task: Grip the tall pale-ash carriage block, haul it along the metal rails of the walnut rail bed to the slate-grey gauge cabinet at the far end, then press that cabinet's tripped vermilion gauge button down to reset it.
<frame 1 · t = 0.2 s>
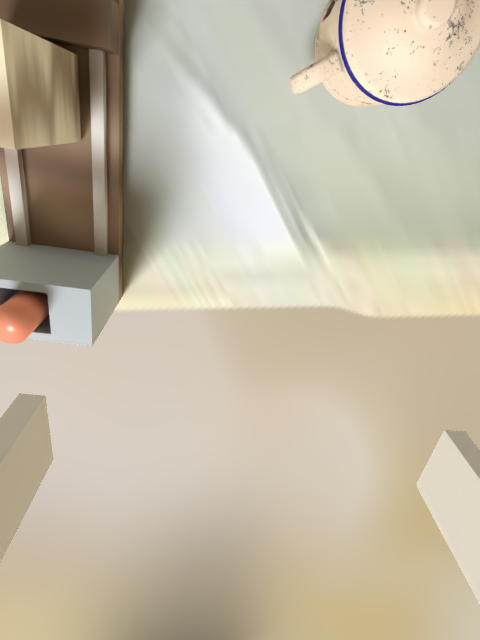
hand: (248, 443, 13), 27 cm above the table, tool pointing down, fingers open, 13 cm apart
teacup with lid: (349, 55, 31), on the table
rail bed: (65, 155, 33), on the table
carriage: (19, 90, 25), point 7 cm above the table, slide at 0.0 cm
gauge button: (21, 314, 29), point 10 cm above the table, slide at 0.0 cm
gauge cabinet: (71, 267, 38), resting on rail bed
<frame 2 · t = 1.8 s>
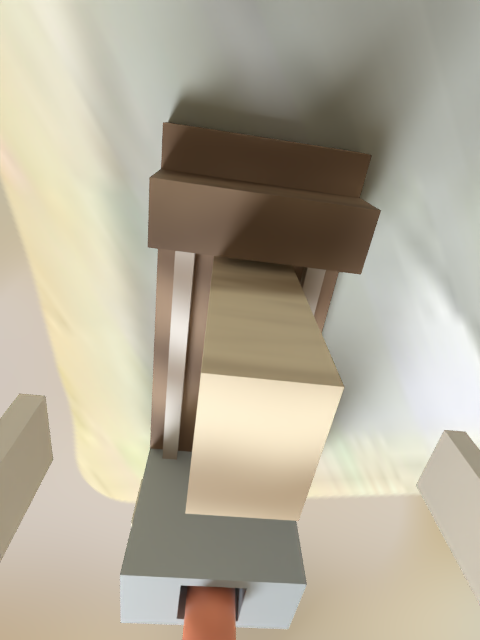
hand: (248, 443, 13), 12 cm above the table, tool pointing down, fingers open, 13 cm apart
rail bed: (233, 351, 25), on the table
carriage: (248, 357, 17), point 7 cm above the table, slide at 0.0 cm
gauge button: (210, 614, 21), point 10 cm above the table, slide at 0.0 cm
gauge cabinet: (216, 461, 30), resting on rail bed
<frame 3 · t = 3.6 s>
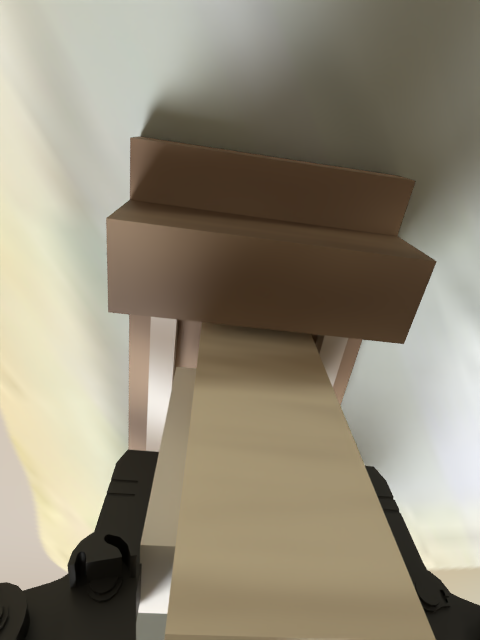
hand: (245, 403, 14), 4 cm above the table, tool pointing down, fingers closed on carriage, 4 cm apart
rail bed: (229, 417, 20), on the table
carriage: (250, 470, 12), point 7 cm above the table, slide at 0.0 cm, touching gripper
gauge cabinet: (209, 538, 25), resting on rail bed
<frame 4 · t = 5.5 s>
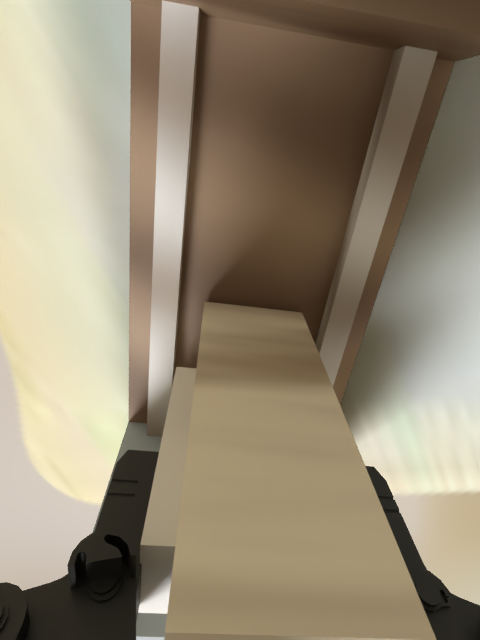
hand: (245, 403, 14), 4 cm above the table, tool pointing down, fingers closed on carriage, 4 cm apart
rail bed: (254, 267, 16), on the table
carriage: (250, 470, 12), point 7 cm above the table, slide at 8.6 cm, touching gripper
gauge cabinet: (225, 444, 21), resting on rail bed
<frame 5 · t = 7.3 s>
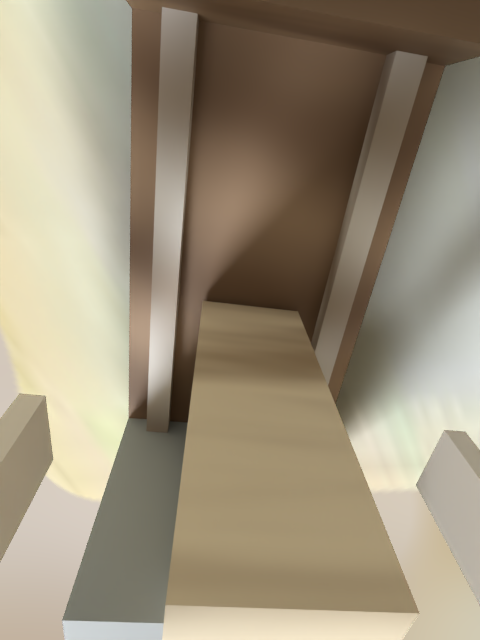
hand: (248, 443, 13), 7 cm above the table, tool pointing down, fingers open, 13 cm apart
rail bed: (252, 265, 17), on the table
carriage: (247, 463, 12), point 7 cm above the table, slide at 8.7 cm
gauge cabinet: (223, 440, 21), resting on rail bed
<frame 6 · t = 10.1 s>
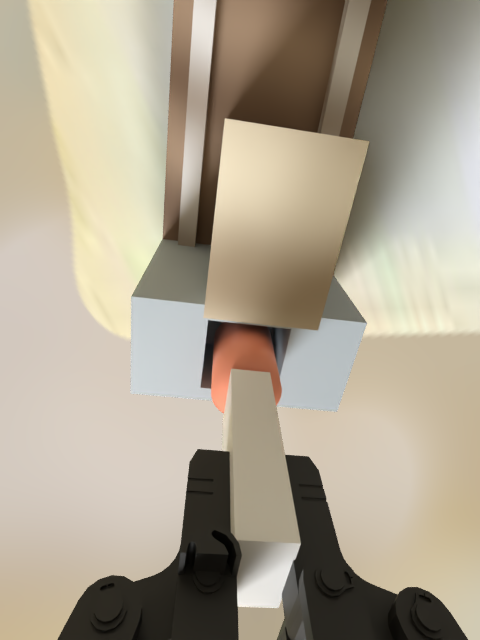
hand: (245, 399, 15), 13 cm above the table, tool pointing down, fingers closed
rail bed: (263, 103, 21), on the table
carriage: (262, 204, 16), point 7 cm above the table, slide at 8.7 cm
gauge button: (244, 363, 17), point 10 cm above the table, slide at 0.2 cm, touching gripper
gauge cabinet: (237, 278, 26), resting on rail bed
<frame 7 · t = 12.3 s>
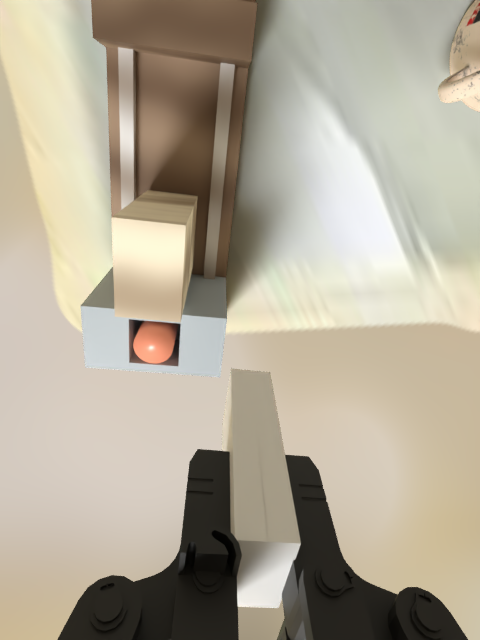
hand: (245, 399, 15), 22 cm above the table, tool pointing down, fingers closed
rail bed: (176, 175, 31), on the table
carriage: (162, 247, 27), point 7 cm above the table, slide at 8.7 cm
gauge button: (157, 333, 28), point 8 cm above the table, slide at 2.0 cm
gauge cabinet: (171, 291, 36), resting on rail bed
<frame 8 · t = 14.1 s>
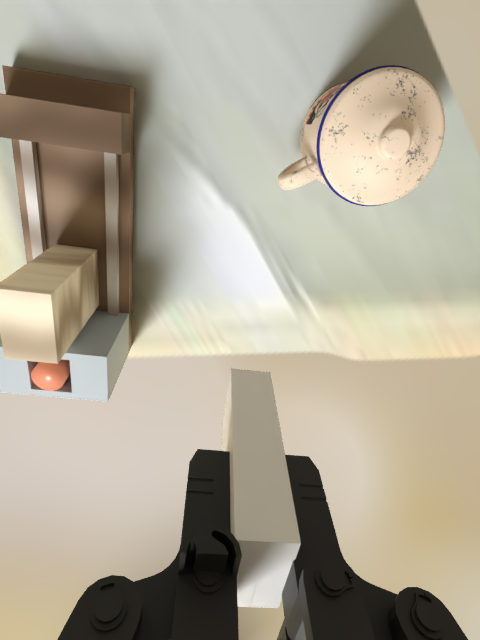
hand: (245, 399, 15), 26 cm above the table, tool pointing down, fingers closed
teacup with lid: (330, 145, 35), on the table
rail bed: (81, 230, 38), on the table
carriage: (56, 297, 33), point 7 cm above the table, slide at 8.7 cm
gauge button: (56, 365, 35), point 8 cm above the table, slide at 2.0 cm
gauge cabinet: (86, 322, 42), resting on rail bed
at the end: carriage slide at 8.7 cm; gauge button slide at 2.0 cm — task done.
